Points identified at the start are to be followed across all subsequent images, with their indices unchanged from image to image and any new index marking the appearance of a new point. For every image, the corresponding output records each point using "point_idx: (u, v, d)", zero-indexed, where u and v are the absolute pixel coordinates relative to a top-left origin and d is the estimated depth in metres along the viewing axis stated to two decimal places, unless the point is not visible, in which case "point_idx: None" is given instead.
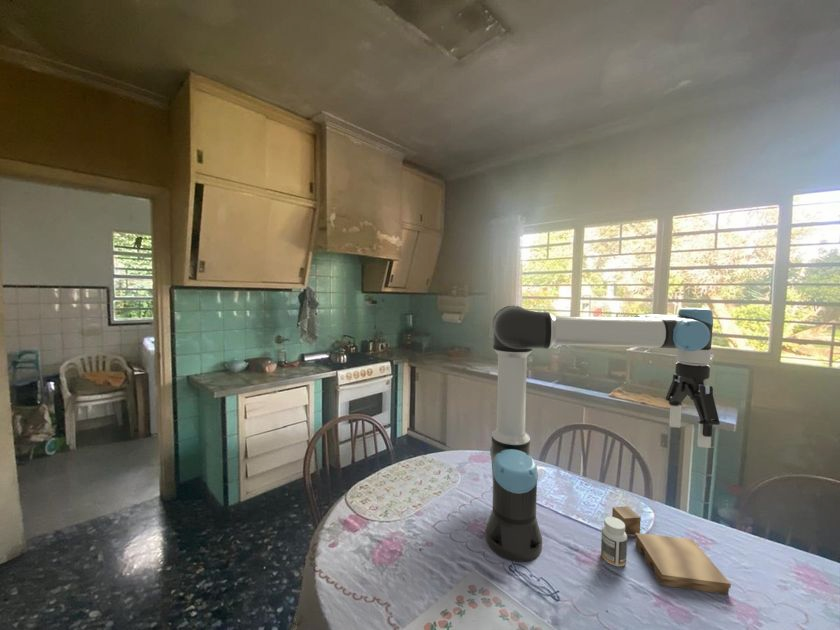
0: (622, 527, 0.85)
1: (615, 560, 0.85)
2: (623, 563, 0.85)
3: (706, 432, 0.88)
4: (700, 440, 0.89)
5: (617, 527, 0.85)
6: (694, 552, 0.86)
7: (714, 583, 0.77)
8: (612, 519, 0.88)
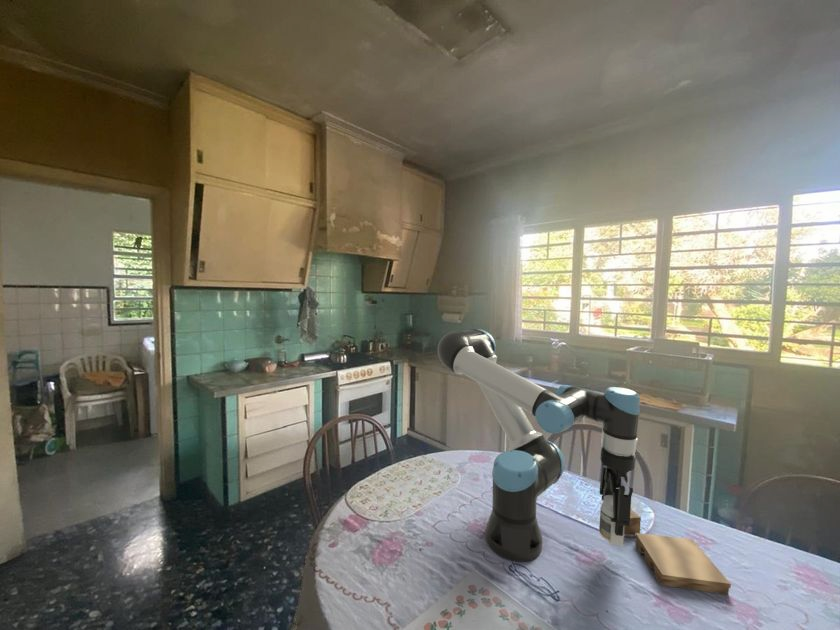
0: None
1: None
2: None
3: (617, 531, 0.83)
4: (612, 537, 0.84)
5: None
6: (694, 552, 0.86)
7: (714, 583, 0.77)
8: (611, 497, 0.88)
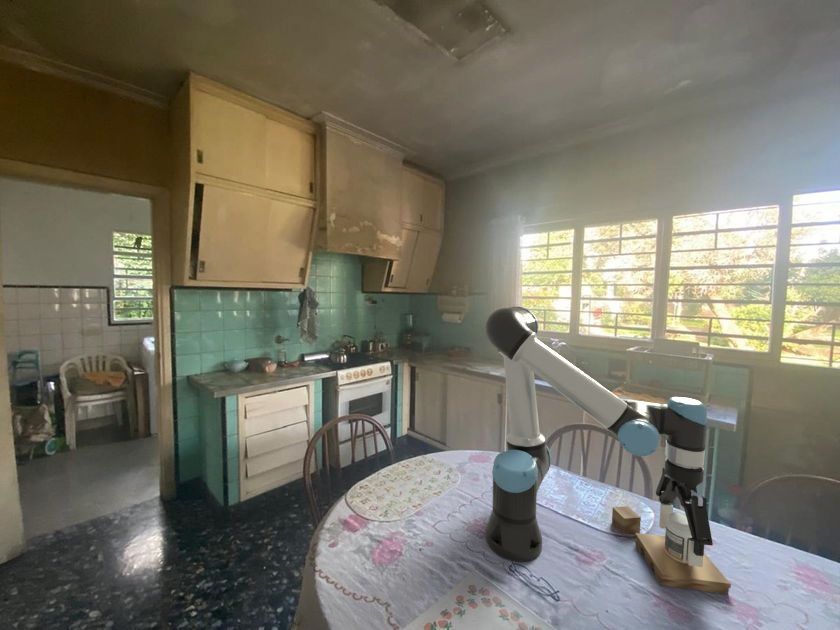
0: None
1: (683, 557, 0.82)
2: None
3: (697, 551, 0.76)
4: (691, 558, 0.78)
5: (685, 523, 0.82)
6: None
7: (714, 583, 0.77)
8: (677, 515, 0.85)
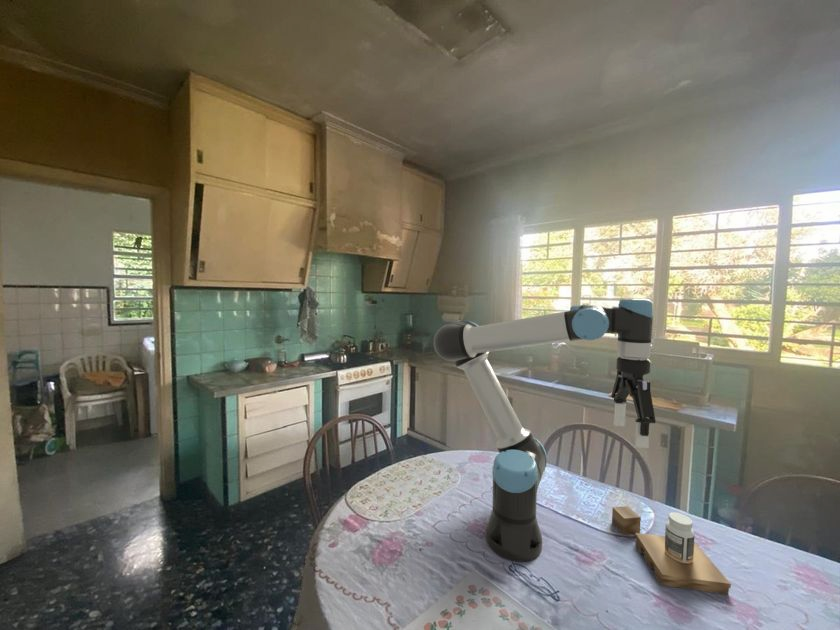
0: (689, 523, 0.82)
1: (682, 557, 0.82)
2: (691, 560, 0.82)
3: (643, 431, 0.82)
4: (637, 440, 0.83)
5: (684, 523, 0.82)
6: (694, 552, 0.86)
7: (714, 583, 0.77)
8: (677, 515, 0.85)
